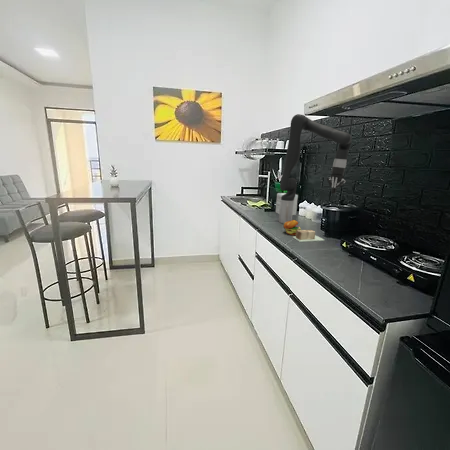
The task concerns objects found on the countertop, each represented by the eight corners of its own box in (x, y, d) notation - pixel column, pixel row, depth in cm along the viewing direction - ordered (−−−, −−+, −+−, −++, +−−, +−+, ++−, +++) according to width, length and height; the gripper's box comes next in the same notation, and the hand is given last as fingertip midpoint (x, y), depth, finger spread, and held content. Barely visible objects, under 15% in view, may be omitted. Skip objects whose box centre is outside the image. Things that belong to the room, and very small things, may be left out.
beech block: (310, 236, 153) (295, 237, 151) (311, 229, 152) (296, 230, 150) (314, 239, 149) (299, 239, 147) (315, 231, 148) (300, 232, 146)
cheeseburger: (302, 236, 155) (300, 221, 153) (285, 239, 158) (282, 224, 156) (301, 231, 165) (299, 217, 163) (285, 234, 168) (282, 220, 165)
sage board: (315, 236, 157) (316, 235, 157) (324, 240, 148) (324, 239, 148) (292, 237, 153) (292, 236, 153) (300, 242, 145) (300, 241, 145)
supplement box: (288, 211, 229) (289, 192, 224) (296, 215, 217) (298, 194, 212) (275, 212, 225) (276, 193, 220) (282, 215, 213) (284, 195, 208)
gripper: (326, 165, 162) (321, 191, 167) (345, 167, 151) (339, 195, 156) (333, 165, 166) (328, 191, 171) (352, 167, 155) (345, 195, 161)
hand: (333, 193), depth 164 cm, fingers closed
